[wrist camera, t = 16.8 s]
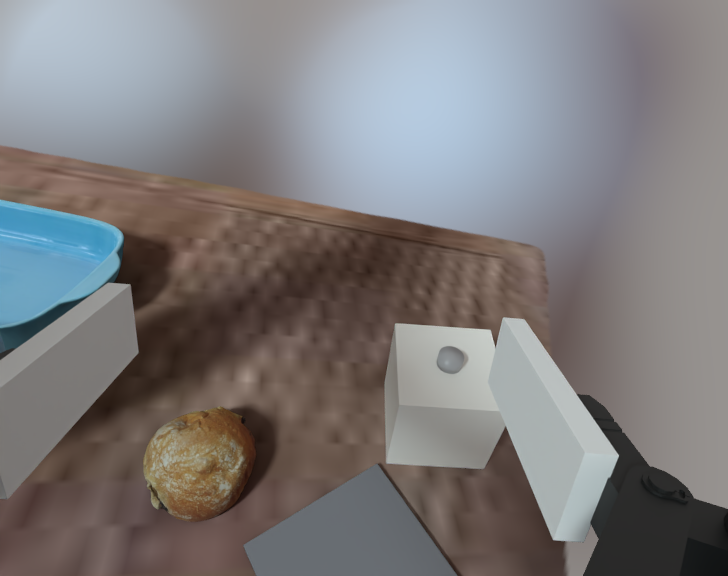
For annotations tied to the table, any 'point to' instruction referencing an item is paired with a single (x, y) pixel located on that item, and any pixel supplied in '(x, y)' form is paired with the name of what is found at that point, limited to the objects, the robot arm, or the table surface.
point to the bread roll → (199, 463)
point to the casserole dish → (50, 266)
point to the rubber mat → (350, 536)
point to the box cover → (440, 397)
